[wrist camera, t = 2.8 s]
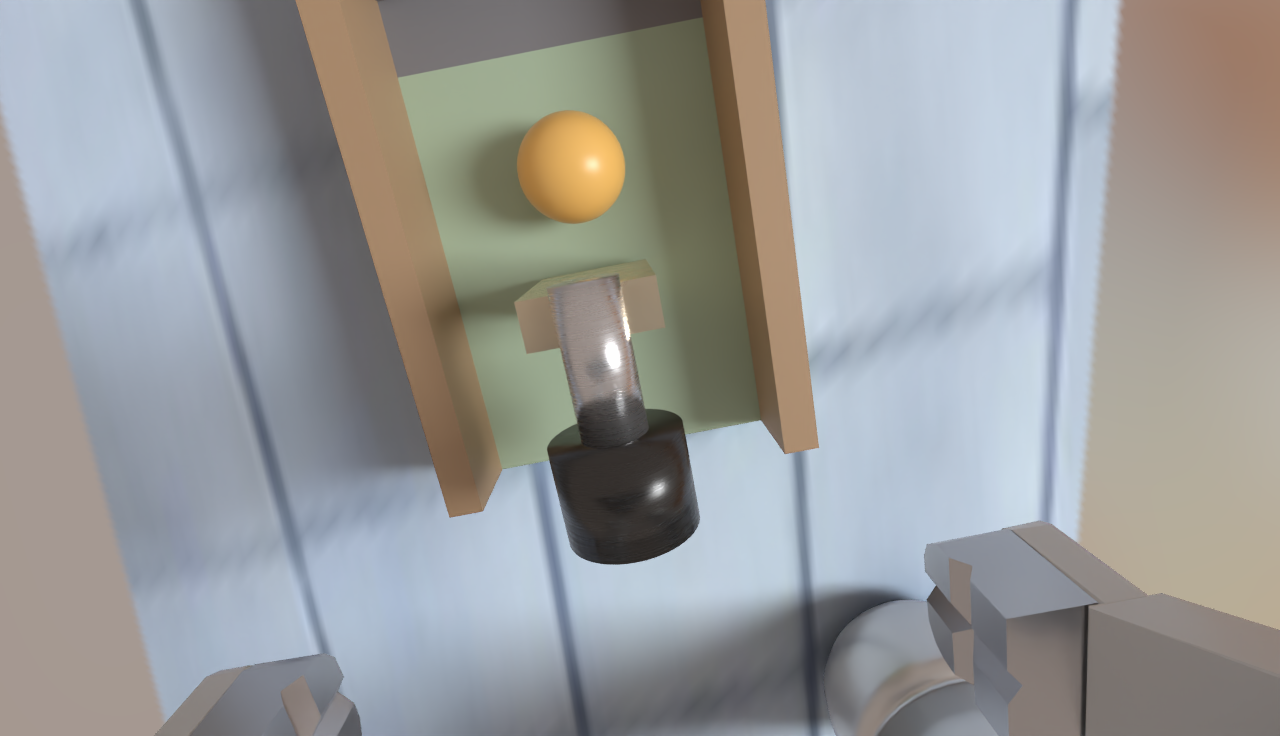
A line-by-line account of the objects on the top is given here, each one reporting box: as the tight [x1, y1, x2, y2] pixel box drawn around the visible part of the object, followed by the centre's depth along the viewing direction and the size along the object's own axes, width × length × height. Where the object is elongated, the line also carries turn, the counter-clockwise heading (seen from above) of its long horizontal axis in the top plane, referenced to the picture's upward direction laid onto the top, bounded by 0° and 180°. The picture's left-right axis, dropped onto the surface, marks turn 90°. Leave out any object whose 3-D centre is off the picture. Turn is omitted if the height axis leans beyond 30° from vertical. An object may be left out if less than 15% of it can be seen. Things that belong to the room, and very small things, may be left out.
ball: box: [517, 110, 625, 224], centre depth 17 cm, size 3×3×3 cm
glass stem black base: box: [514, 259, 700, 565], centre depth 15 cm, size 6×3×7 cm, turn 10°
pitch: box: [295, 0, 819, 517], centre depth 17 cm, size 16×11×4 cm
